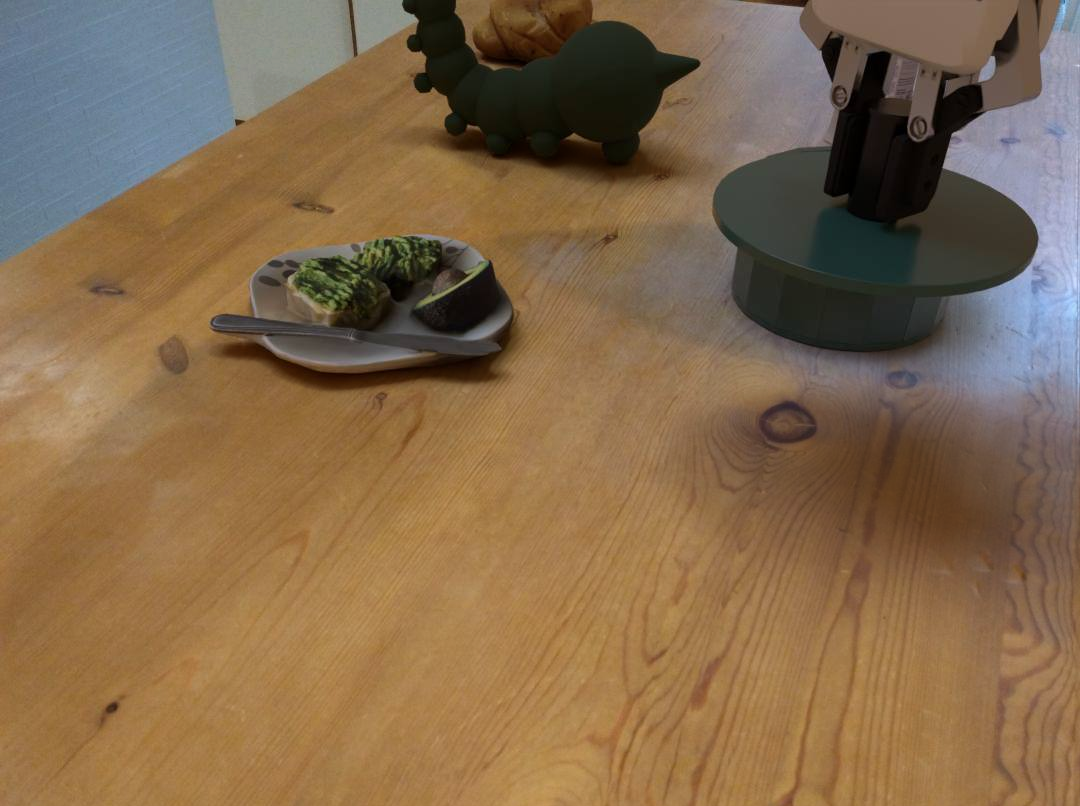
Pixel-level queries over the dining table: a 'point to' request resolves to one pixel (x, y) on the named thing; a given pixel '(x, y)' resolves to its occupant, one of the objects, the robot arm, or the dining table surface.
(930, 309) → the pot
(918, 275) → the lid
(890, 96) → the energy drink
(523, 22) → the bread roll
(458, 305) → the avocado toast plate
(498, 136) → the toy figurine
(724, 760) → the dining table surface
